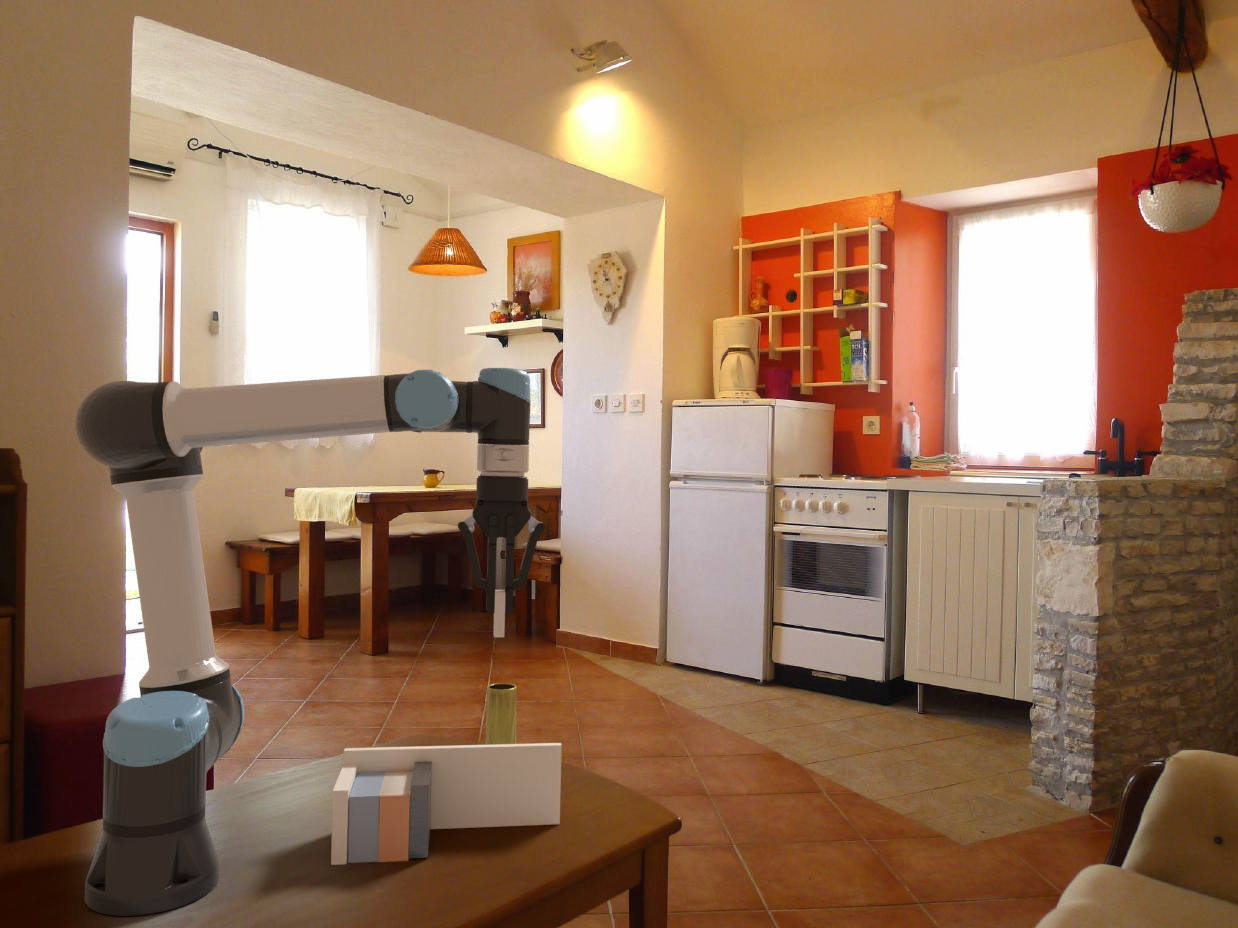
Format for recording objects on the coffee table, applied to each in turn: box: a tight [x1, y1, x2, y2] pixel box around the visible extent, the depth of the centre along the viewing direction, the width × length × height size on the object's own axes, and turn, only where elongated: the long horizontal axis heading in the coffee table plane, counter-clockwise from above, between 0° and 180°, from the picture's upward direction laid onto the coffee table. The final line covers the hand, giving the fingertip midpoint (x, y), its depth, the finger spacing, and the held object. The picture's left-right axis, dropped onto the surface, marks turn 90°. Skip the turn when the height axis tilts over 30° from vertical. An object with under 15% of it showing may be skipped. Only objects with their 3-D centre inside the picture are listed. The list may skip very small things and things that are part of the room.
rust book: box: [378, 771, 413, 863], centre depth 132 cm, size 4×10×9 cm, turn 9°
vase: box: [484, 682, 518, 745], centre depth 167 cm, size 6×6×14 cm
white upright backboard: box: [330, 742, 563, 866], centre depth 134 cm, size 32×12×12 cm, turn 99°
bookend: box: [409, 762, 432, 859], centre depth 132 cm, size 2×10×10 cm, turn 9°
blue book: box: [347, 771, 386, 864], centre depth 131 cm, size 4×10×9 cm, turn 9°
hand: (498, 635), depth 136 cm, fingers closed
